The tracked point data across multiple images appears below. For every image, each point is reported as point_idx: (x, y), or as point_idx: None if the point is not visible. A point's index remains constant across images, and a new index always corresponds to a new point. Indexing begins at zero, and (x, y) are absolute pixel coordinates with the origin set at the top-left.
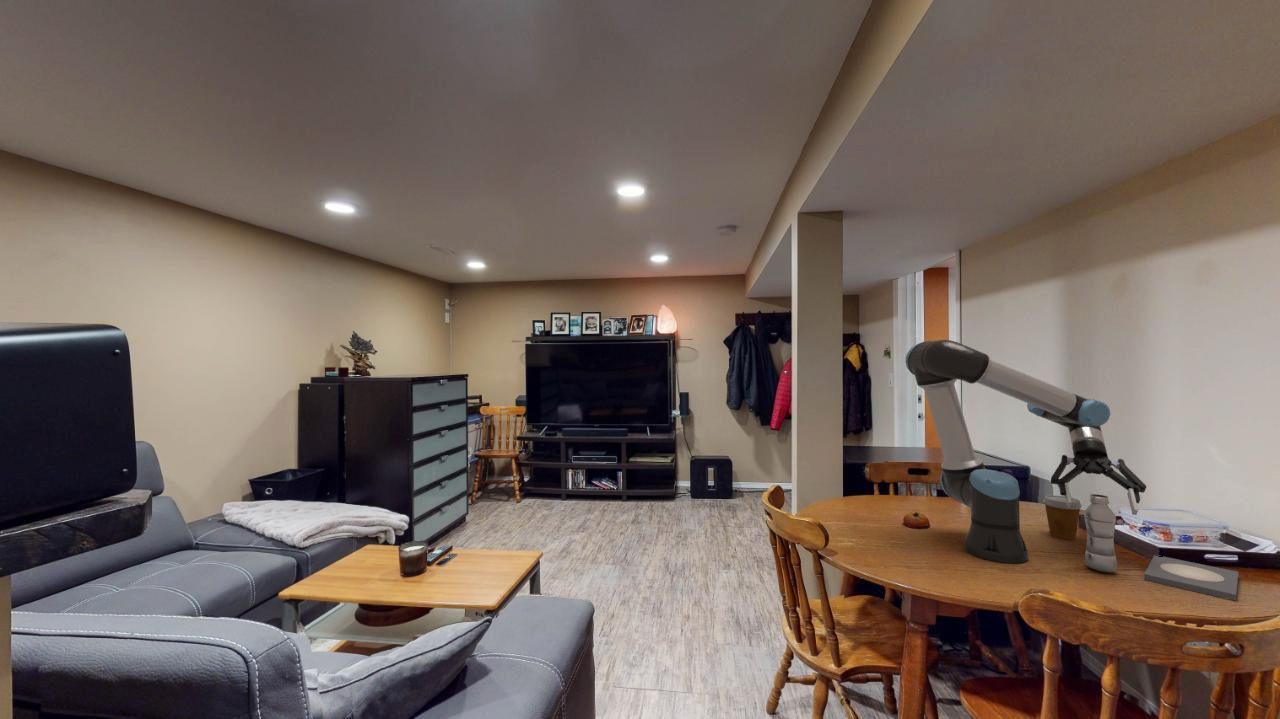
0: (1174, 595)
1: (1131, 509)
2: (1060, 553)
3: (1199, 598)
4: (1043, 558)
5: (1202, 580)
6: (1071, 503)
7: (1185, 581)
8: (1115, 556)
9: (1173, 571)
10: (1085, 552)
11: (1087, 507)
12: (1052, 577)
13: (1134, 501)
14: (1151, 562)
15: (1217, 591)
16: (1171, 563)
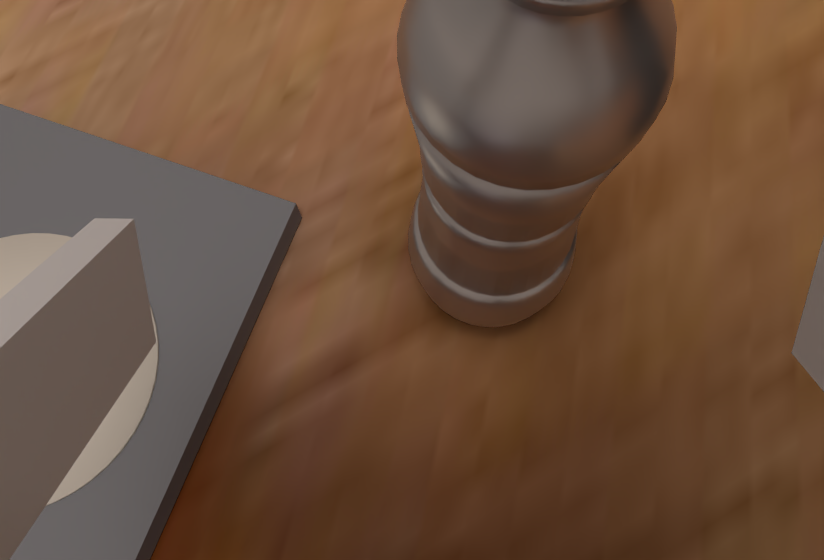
0: (242, 60)
1: (127, 372)
2: (672, 514)
3: (148, 75)
4: (774, 330)
5: (31, 234)
6: (820, 251)
7: (127, 183)
8: (419, 194)
9: None
10: (576, 231)
11: (665, 8)
12: (730, 24)
13: (49, 273)
14: (167, 477)
15: (39, 119)
16: (43, 526)
